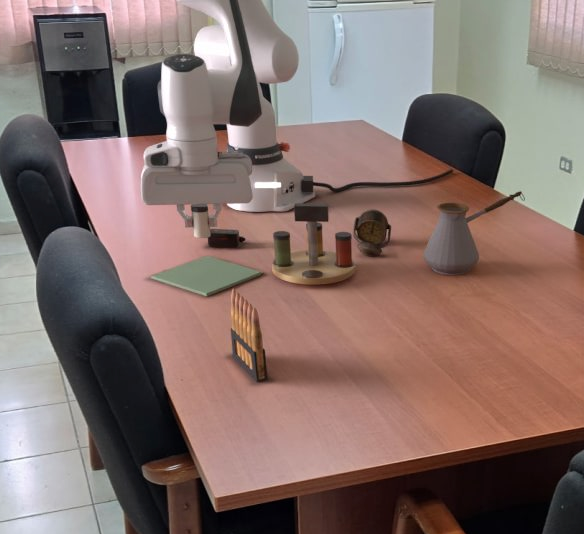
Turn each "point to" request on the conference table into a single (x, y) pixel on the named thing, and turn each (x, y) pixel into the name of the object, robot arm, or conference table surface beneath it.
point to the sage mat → (206, 275)
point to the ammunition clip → (247, 338)
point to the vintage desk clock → (371, 232)
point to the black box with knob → (225, 238)
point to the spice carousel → (313, 251)
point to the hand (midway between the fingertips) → (201, 226)
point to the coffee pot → (455, 238)
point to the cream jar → (200, 220)
